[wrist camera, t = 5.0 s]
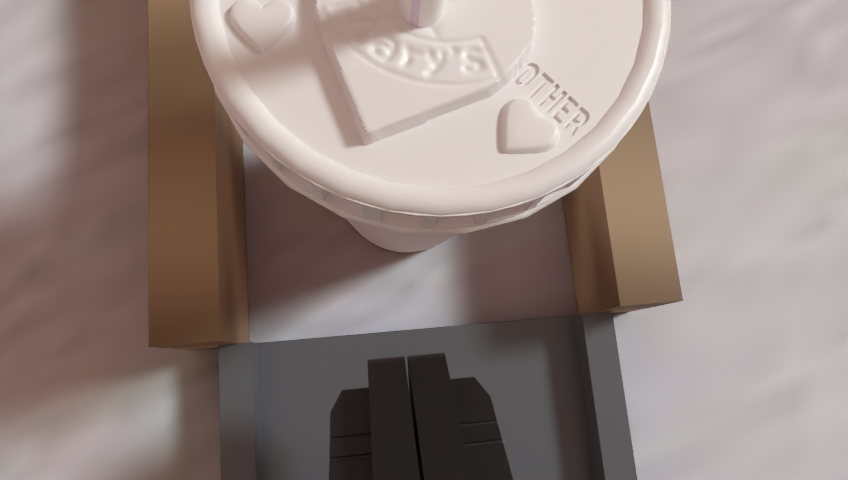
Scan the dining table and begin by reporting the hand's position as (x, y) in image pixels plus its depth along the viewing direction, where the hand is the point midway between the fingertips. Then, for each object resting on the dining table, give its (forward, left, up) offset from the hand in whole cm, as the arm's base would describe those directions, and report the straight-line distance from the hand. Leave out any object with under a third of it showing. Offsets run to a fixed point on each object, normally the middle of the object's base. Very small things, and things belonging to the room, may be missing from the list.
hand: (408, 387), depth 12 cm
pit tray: (-2, 0, -4) cm, 5 cm away
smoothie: (+5, -2, -5) cm, 7 cm away
